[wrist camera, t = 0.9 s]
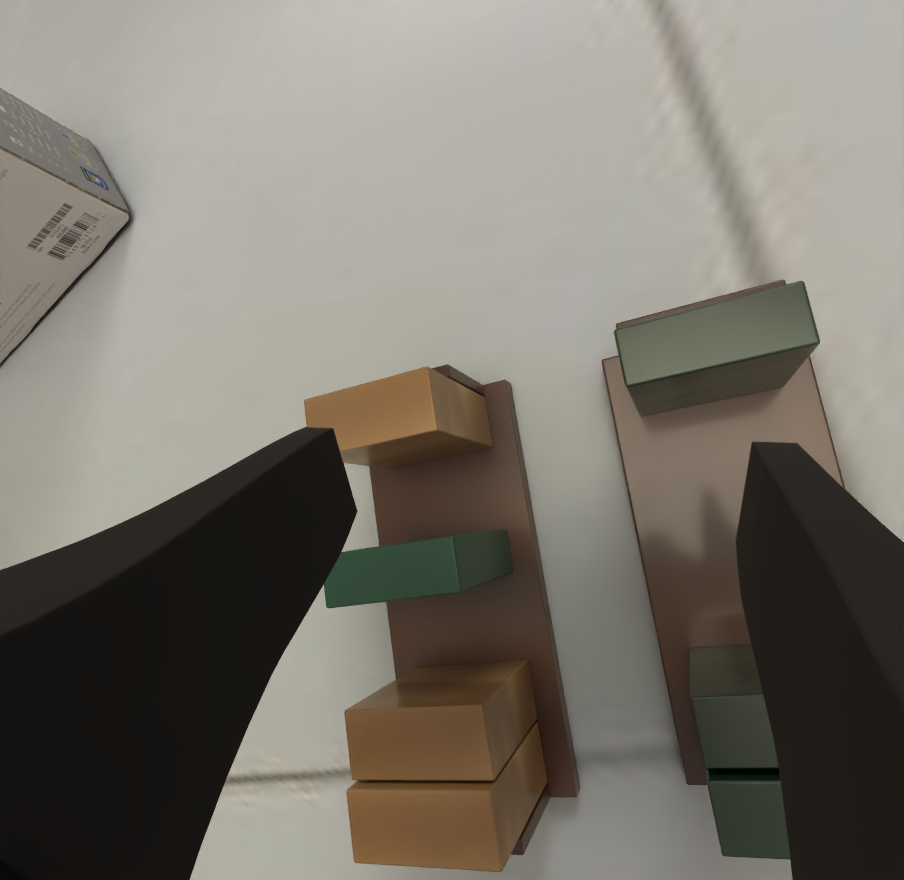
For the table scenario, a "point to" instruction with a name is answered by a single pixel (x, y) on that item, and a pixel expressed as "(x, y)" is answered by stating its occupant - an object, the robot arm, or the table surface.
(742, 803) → the green rack
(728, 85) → the table surface
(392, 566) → the green book
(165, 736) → the robot arm
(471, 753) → the tan rack
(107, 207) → the hard drive box
